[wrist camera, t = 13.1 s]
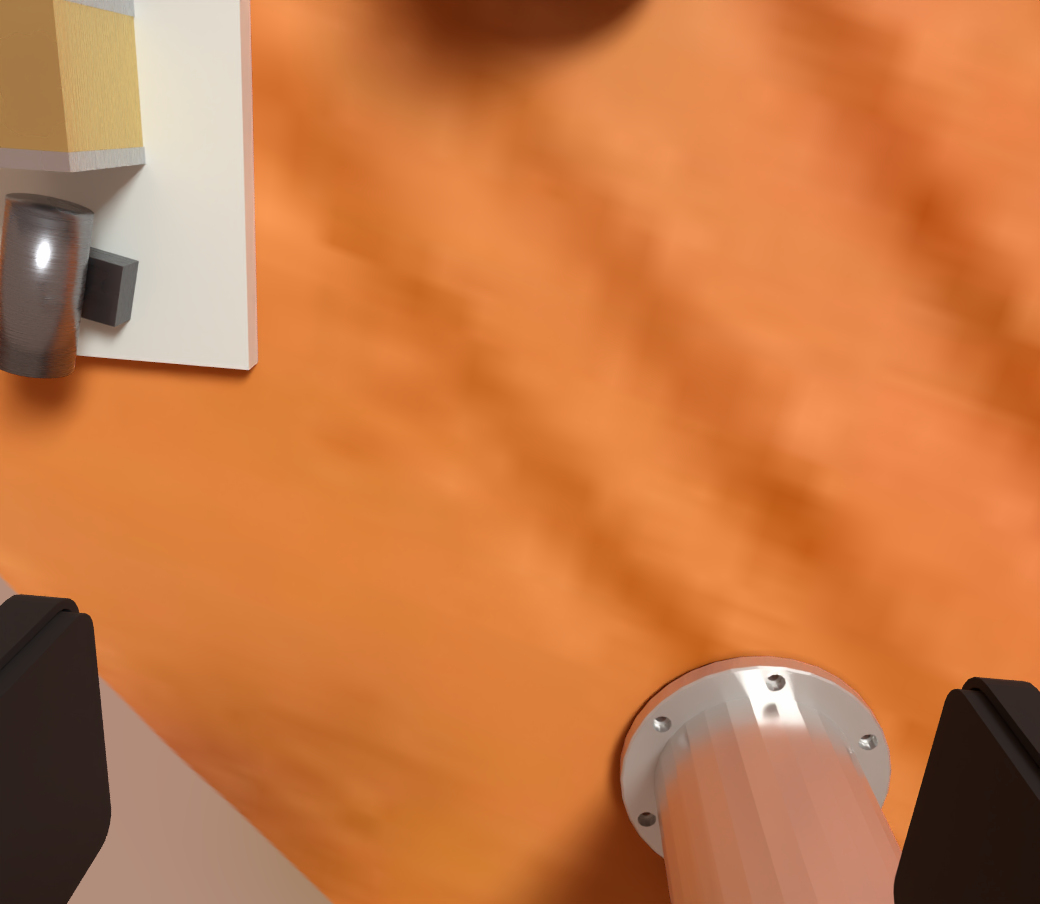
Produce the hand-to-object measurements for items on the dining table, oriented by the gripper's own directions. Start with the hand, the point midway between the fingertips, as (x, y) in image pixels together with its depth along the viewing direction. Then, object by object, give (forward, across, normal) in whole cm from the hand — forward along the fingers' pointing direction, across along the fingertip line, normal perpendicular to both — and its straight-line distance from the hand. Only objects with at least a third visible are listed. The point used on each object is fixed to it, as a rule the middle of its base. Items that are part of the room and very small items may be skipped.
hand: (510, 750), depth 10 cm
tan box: (+27, +17, -6) cm, 33 cm away
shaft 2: (+27, +18, +1) cm, 33 cm away
